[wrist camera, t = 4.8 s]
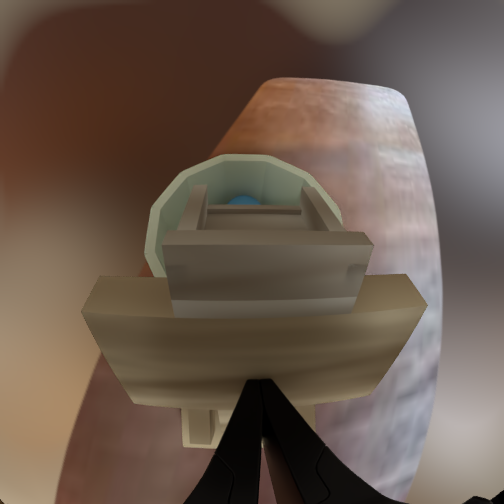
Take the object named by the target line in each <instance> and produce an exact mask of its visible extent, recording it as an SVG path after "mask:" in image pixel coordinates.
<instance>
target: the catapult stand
mask: <svg viewBox="0 0 504 504" xmlns="http://www.w3.org/2000/svg"><path fill="white" fill-rule="evenodd" d="M295 408H296V410H297V411H298V412H299V413H300V415H301V416H302V417H303V418H304V419H305V421H306V422H307V423H308V424H309V426H310V427H311V428H312V429H313V430H314V431H315V433H316V430H315V404H314V405H306V406H296V407H295ZM181 418H182V438H183V447H193V448H217V446H218V444H219V442H220V440H221V438H222V435H223V433H221V427H220V421H219V415H218V410H204V409H184V408H181ZM262 448H264V447H263V443H262Z"/></svg>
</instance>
